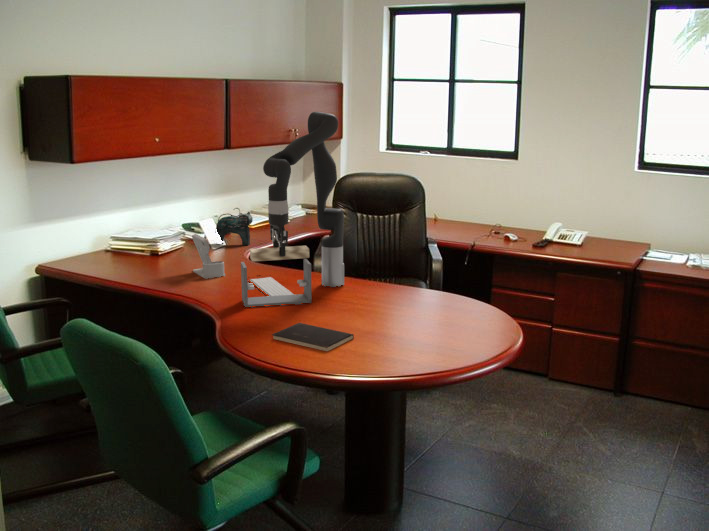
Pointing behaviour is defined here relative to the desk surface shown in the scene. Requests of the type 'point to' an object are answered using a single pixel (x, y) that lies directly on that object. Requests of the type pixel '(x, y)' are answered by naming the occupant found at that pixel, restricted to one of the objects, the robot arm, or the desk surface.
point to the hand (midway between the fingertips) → (279, 254)
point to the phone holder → (207, 260)
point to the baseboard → (271, 286)
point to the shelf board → (273, 253)
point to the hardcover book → (313, 336)
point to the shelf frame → (277, 299)
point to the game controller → (235, 226)
